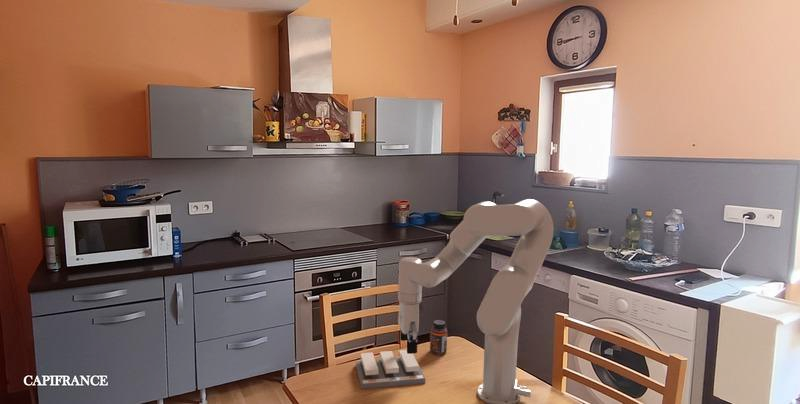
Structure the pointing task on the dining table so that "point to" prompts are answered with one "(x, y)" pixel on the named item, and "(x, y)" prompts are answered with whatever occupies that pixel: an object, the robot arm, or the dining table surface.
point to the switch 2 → (408, 361)
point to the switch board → (388, 376)
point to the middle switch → (389, 362)
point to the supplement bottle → (438, 338)
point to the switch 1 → (369, 363)
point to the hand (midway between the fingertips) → (408, 346)
